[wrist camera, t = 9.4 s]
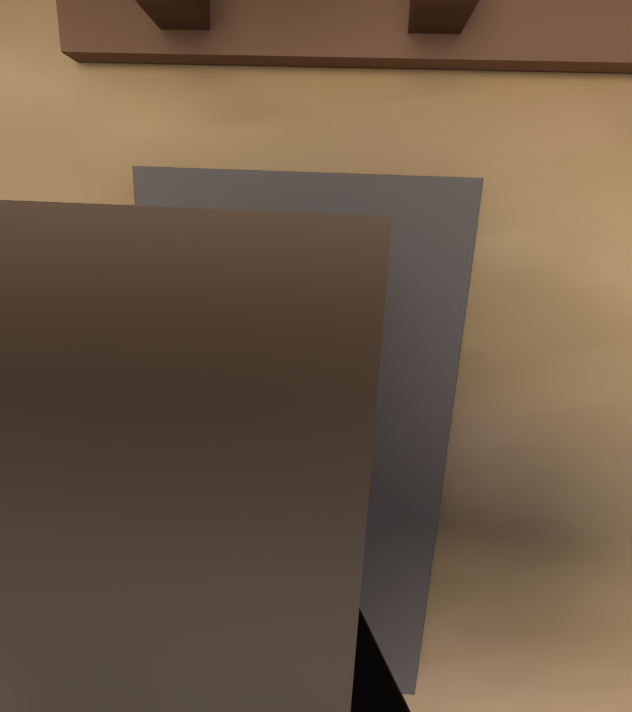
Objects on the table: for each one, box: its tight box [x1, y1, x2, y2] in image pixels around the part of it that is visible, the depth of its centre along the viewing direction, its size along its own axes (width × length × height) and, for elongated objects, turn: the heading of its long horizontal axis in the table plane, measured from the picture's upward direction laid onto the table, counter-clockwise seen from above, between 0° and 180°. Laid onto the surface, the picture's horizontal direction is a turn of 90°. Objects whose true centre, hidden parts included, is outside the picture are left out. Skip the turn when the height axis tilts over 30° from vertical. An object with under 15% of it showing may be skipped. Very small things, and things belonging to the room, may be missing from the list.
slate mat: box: [132, 166, 484, 695], centre depth 13 cm, size 17×9×1 cm, turn 178°
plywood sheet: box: [0, 200, 393, 712], centre depth 7 cm, size 14×3×6 cm, turn 178°
